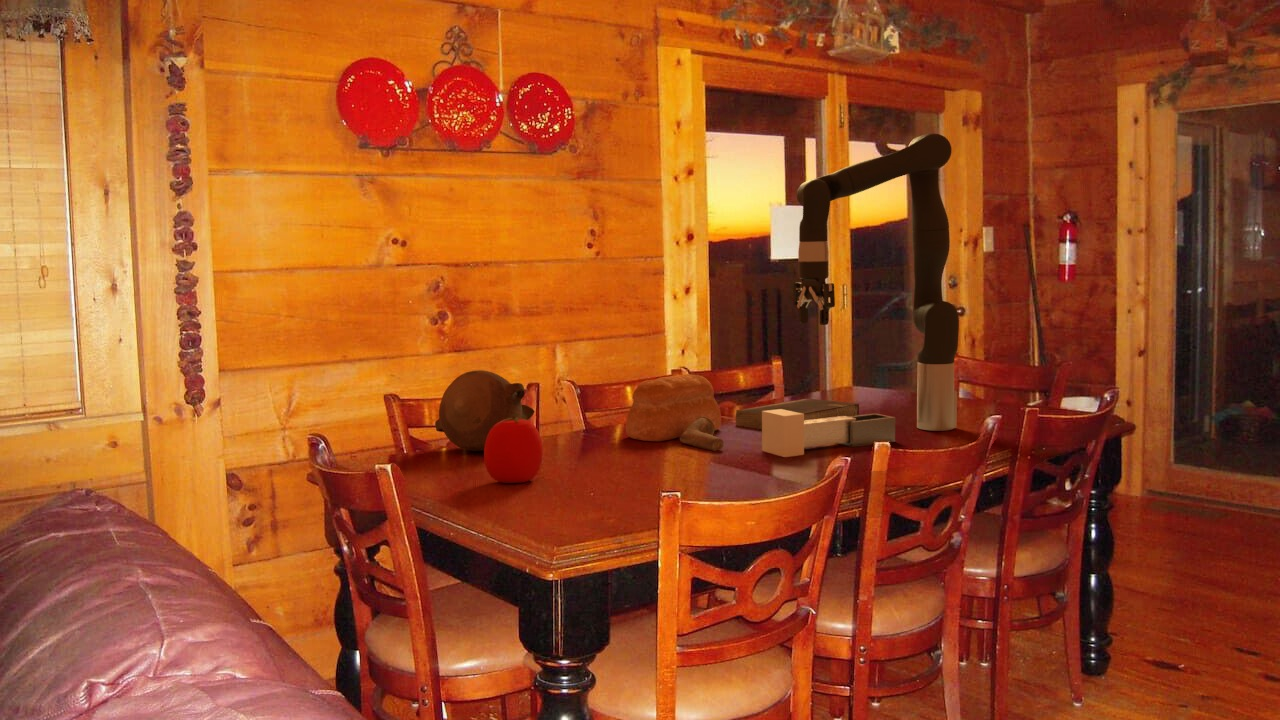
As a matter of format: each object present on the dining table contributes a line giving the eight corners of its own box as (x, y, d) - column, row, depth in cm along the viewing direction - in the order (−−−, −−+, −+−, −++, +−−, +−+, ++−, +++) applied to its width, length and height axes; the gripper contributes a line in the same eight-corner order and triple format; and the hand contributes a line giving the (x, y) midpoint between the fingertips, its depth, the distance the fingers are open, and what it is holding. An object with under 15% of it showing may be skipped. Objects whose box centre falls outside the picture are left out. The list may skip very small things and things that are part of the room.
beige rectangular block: (843, 438, 260) (843, 414, 260) (856, 441, 256) (856, 417, 256) (776, 447, 251) (775, 422, 251) (788, 450, 247) (787, 425, 246)
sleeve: (875, 437, 267) (875, 413, 266) (895, 441, 260) (895, 417, 260) (833, 442, 261) (834, 418, 260) (852, 447, 254) (853, 422, 254)
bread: (619, 438, 273) (618, 379, 271) (690, 425, 291) (689, 369, 289) (656, 444, 263) (655, 383, 262) (727, 430, 281) (726, 373, 279)
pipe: (710, 433, 250) (742, 422, 256) (668, 424, 264) (699, 413, 269) (713, 459, 252) (745, 447, 257) (671, 448, 265) (703, 437, 271)
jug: (480, 462, 245) (547, 460, 272) (500, 379, 244) (566, 385, 271) (412, 438, 254) (483, 438, 281) (431, 358, 253) (501, 366, 280)
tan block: (781, 448, 255) (781, 409, 254) (804, 454, 247) (803, 413, 246) (762, 450, 252) (761, 411, 251) (784, 457, 244) (784, 416, 243)
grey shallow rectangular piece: (806, 414, 307) (806, 397, 307) (858, 421, 293) (859, 403, 292) (735, 427, 288) (735, 408, 288) (788, 435, 274) (788, 416, 274)
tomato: (493, 490, 216) (490, 421, 215) (478, 479, 227) (476, 413, 225) (552, 483, 221) (550, 416, 220) (535, 473, 232) (533, 408, 230)
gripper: (843, 259, 265) (843, 324, 267) (808, 259, 278) (808, 321, 279) (818, 260, 262) (818, 326, 263) (784, 260, 274) (784, 323, 276)
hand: (813, 323), depth 271 cm, fingers open, 8 cm apart
